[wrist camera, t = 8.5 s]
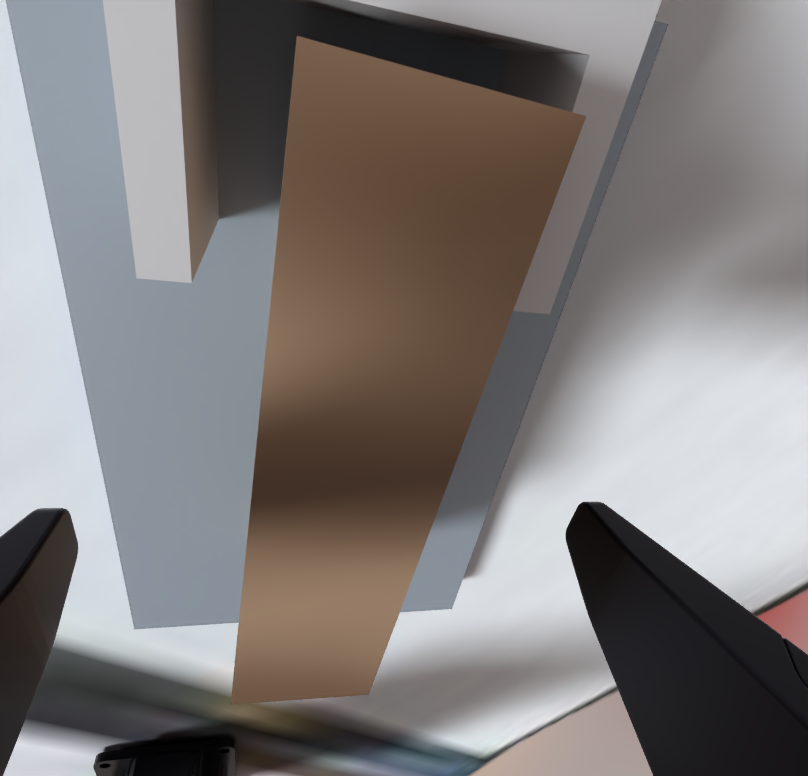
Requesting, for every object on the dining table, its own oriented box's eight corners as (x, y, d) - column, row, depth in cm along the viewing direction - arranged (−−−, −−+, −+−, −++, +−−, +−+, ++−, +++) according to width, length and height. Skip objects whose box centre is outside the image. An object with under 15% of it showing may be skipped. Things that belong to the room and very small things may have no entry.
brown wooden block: (351, 543, 18) (368, 694, 13) (246, 542, 17) (230, 704, 13) (471, 85, 10) (587, 116, 6) (296, 37, 9) (297, 36, 5)
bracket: (445, 587, 22) (475, 697, 18) (141, 603, 19) (104, 738, 15) (640, 25, 11) (810, 18, 7) (6, -133, 8) (-226, -272, 5)
